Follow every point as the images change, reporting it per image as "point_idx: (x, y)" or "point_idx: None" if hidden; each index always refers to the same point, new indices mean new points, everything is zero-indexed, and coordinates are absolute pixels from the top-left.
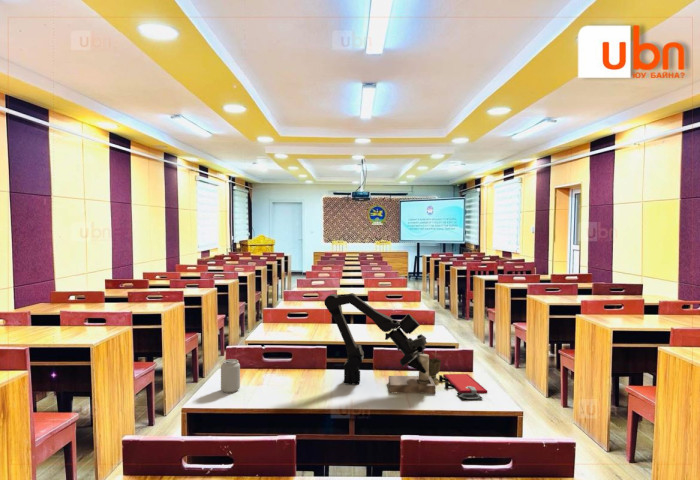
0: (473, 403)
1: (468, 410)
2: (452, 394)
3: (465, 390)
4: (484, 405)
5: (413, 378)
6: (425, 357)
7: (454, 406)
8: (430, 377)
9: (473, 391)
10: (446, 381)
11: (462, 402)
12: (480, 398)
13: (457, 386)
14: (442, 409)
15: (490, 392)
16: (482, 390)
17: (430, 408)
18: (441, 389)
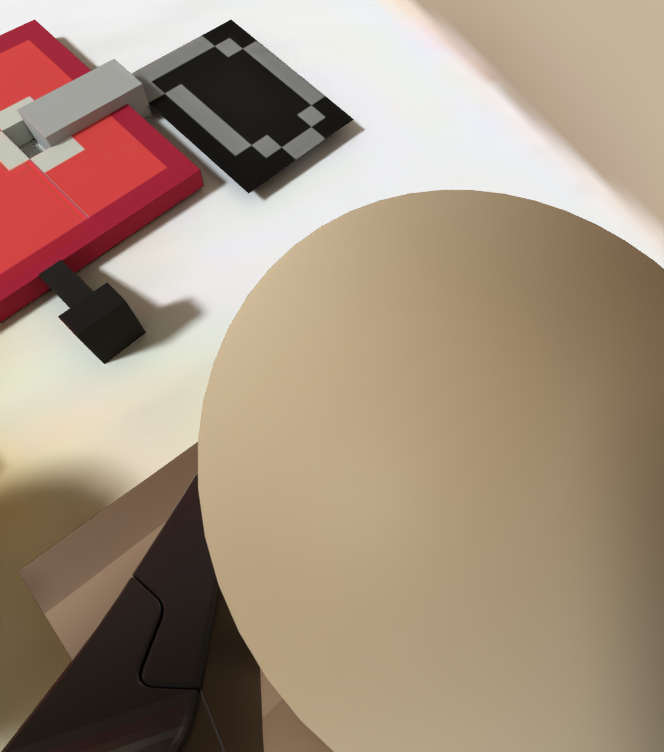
0: (342, 64)
1: (477, 60)
2: (268, 229)
3: (154, 140)
4: (325, 10)
5: (303, 741)
6: (616, 276)
7: (489, 138)
8: (83, 540)
9: (137, 86)
10: (79, 317)
11: (379, 120)
12: (245, 31)
13: (76, 230)
14: (596, 178)
15: (15, 25)
16: (53, 45)
17: (651, 244)
18: (203, 359)
